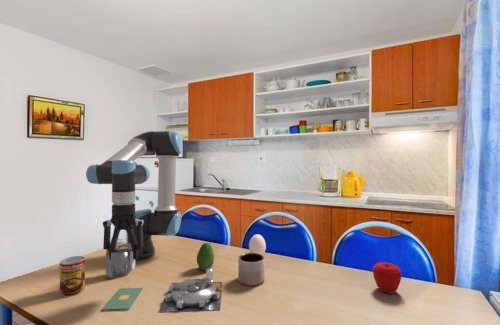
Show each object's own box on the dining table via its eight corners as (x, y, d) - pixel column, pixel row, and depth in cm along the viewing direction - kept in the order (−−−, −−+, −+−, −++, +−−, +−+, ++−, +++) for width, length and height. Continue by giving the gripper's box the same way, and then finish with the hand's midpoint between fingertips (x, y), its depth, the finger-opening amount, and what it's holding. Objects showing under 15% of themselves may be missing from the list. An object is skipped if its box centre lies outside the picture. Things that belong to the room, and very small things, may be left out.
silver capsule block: (122, 264, 100) (122, 243, 99) (137, 264, 100) (137, 242, 100) (108, 278, 88) (108, 253, 88) (125, 277, 88) (125, 253, 88)
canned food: (58, 298, 94) (57, 265, 94) (61, 289, 101) (61, 258, 101) (84, 293, 98) (83, 261, 98) (85, 284, 105) (85, 254, 105)
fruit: (217, 267, 122) (217, 241, 122) (207, 274, 115) (207, 246, 115) (203, 264, 125) (203, 239, 125) (193, 271, 118) (193, 244, 118)
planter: (232, 280, 109) (232, 257, 109) (250, 272, 117) (250, 250, 117) (252, 289, 102) (252, 264, 102) (269, 279, 110) (269, 256, 110)
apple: (398, 286, 104) (398, 259, 104) (404, 299, 95) (404, 269, 95) (371, 283, 107) (371, 256, 107) (374, 294, 98) (374, 265, 98)
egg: (255, 252, 142) (255, 231, 142) (268, 256, 137) (269, 234, 137) (245, 257, 135) (245, 235, 135) (259, 261, 130) (259, 238, 130)
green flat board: (119, 289, 101) (119, 288, 101) (142, 289, 102) (142, 287, 102) (102, 310, 87) (102, 308, 87) (128, 310, 88) (128, 307, 88)
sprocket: (210, 278, 110) (210, 258, 110) (229, 300, 93) (229, 277, 93) (161, 288, 101) (161, 267, 101) (172, 315, 84) (172, 290, 84)
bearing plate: (172, 283, 106) (172, 282, 106) (222, 282, 108) (222, 280, 108) (158, 312, 86) (158, 310, 86) (220, 310, 88) (220, 308, 88)
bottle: (116, 279, 109) (116, 243, 109) (102, 278, 111) (101, 242, 110) (127, 272, 116) (127, 238, 116) (113, 271, 118) (113, 237, 117)
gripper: (90, 205, 89) (91, 273, 90) (147, 204, 91) (147, 272, 91) (101, 201, 97) (101, 264, 97) (153, 201, 98) (153, 263, 98)
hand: (123, 268), depth 94 cm, fingers closed on silver capsule block, 5 cm apart
